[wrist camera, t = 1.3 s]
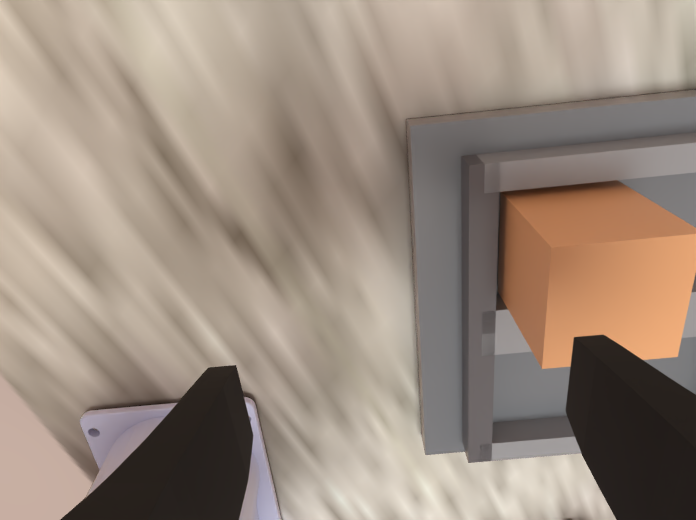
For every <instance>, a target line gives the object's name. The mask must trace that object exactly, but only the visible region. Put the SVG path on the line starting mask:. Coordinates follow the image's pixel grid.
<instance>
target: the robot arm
mask: <svg viewBox="0 0 696 520" xmlns="http://www.w3.org/2000/svg"><path fill="white" fill-rule="evenodd" d="M566 414H567V417H568V419H569V422H570V425H571V428H572V430H573V433H574V436H575V438H576V441H577V443H578V446H579V448H580V451H581V453H582V456H583V458H584V460H585V461H586V463H587V465H588V467H589V469H590V471H591V473H592V475H593V477H594V479H595V480H596V482H597V484H598V486H599V488H600V490H601V492H602V494H603V495H604V497H605V499H606V501H607V503H608V505H609V506H610V508H611V510H612V512H613V514H614V516H615V518H616V519H617V520H696V394H694V393H692V392H691V391H689V390H688V389H686V388H685V387H683V386H682V385H680V384H678V383H677V382H675V381H674V380H672V379H671V378H669V377H668V376H666V375H665V374H663V373H662V372H660V371H659V370H657V369H656V368H654V367H653V366H651V365H650V364H648V363H647V362H645V361H644V360H642V359H641V358H639V357H638V356H636V355H635V354H633V353H632V352H630V351H629V350H627V349H626V348H624V347H623V346H621V345H619V344H618V343H616V342H615V341H613V340H612V339H610V338H608V337H607V336H605V335H592V336H581V337H574V340H573V349H572V358H571V367H570V375H569V384H568V393H567V402H566ZM249 416H250V417H249ZM80 425H81V428H82V430H83V432H84V435H85V437H86V440H87V442H88V444H89V447H90V449H91V451H92V454H93V456H94V458H95V461H96V463H97V466H98V468H99V472H98V474H97V476H96V478H95V480H94V482H93V484H92V486H91V488H90V490H89V492H88V494H87V496H86V497H85V499H84V500H83V501H81V502H80V503H79V504H78V505H77V506H76V507H75V508H73V509H72V510H71V511H70V512H69V513H68V514H66V515H65V516H64V517H63V518H62V519H61V520H281V515H280V511H279V507H278V502H277V498H276V493H275V489H274V484H273V480H272V475H271V471H270V467H269V462H268V458H267V453H266V449H265V444H264V440H263V436H262V431H261V427H260V422H259V418H258V413H257V409H256V405H255V403H254V401H253V400H252V399H250V398H248V397H244V395H243V391H242V387H241V383H240V379H239V375H238V371H237V367H236V365H234V366H222V367H210V368H208V369H207V370H206V371H205V372H204V373H203V374H202V375H201V377H200V378H199V379H198V380H197V381H196V382H195V383H194V385H193V386H192V387H191V388H190V389H189V390H188V391H187V393H186V394H185V395H184V396H183V397H182V398H181V400H180V401H179V402H178V403H169V404H158V405H146V406H135V407H124V408H113V409H102V410H91V411H87V412H85V413H84V414H83V416H82V417H81V419H80ZM93 428H95V429H97V430H98V431H97V430H94V429H93Z"/></svg>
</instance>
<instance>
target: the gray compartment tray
mask: <svg viewBox="0 0 696 520" xmlns="http://www.w3.org/2000/svg"><path fill="white" fill-rule="evenodd" d="M406 127H407V147H408V167H409V188H410V208H411V228H412V249H413V269H414V289H415V309H416V330H417V350H418V370H419V391H420V411H421V431H422V440H423V445H424V450H425V455H431V454H443V453H454V452H465V453H466V456H467V460H468V463H472V462H484V461H496V460H507V459H519V458H531V457H543V456H555V455H566V454H578V453H581V451H580V448H579V446H578V443H577V441H576V438H575V436H574V433H573V430H572V428H571V425H570V422H569V419H568V417H567V414H566V402H567V393H568V384H569V375H570V367H571V366H570V367H559V368H548V369H542V368H541V366H540V365H539V363H538V361H537V359H536V358H535V356H534V354H533V352H532V351H531V349H530V347H529V345H528V344H527V342H526V340H525V338H524V337H523V335H522V333H521V331H520V329H519V328H518V326H517V324H516V322H515V321H514V319H513V317H512V315H511V314H510V312H509V310H508V308H507V307H506V305H505V303H504V301H503V300H502V298H501V296H500V294H499V293H498V261H499V227H500V194H501V192H503V191H513V190H523V189H533V188H543V187H554V186H564V185H574V184H584V183H594V182H604V181H614V180H618V181H619V182H621V183H623V184H624V185H626V186H628V187H629V188H631V189H633V190H634V191H636V192H637V193H639V194H641V195H642V196H644V197H646V198H647V199H649V200H651V201H652V202H654V203H656V204H657V205H659V206H661V207H662V208H664V209H666V210H667V211H669V212H670V213H672V214H674V215H675V216H677V217H679V218H680V219H682V220H684V221H685V222H687V223H689V224H690V225H692V226H694V227H695V228H696V89H694V90H684V91H675V92H665V93H655V94H646V95H636V96H626V97H617V98H607V99H597V100H588V101H578V102H568V103H559V104H549V105H539V106H530V107H520V108H510V109H501V110H491V111H481V112H472V113H462V114H452V115H443V116H433V117H423V118H414V119H406ZM644 361H645V362H647V363H648V364H650V365H651V366H653V367H654V368H656V369H657V370H659V371H660V372H662V373H663V374H665V375H666V376H668V377H669V378H671V379H672V380H674V381H675V382H677V383H678V384H680V385H682V386H683V387H685V388H686V389H688V390H689V391H691V392H692V393H694V394H696V274H695V278H694V283H693V288H692V292H691V297H690V302H689V306H688V311H687V315H686V320H685V325H684V329H683V334H682V339H681V343H680V348H679V353H678V357H671V358H660V359H649V360H644Z"/></svg>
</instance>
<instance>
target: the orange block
mask: <svg viewBox="0 0 696 520" xmlns="http://www.w3.org/2000/svg"><path fill="white" fill-rule="evenodd" d="M695 274H696V228H695V227H694V226H692V225H690V224H689V223H687V222H685V221H684V220H682V219H680V218H679V217H677V216H675V215H674V214H672V213H670V212H669V211H667V210H666V209H664V208H662V207H661V206H659V205H657V204H656V203H654V202H652V201H651V200H649V199H647V198H646V197H644V196H642V195H641V194H639V193H637V192H636V191H634V190H633V189H631V188H629V187H628V186H626V185H624V184H623V183H621V182H619V181H618V180H614V181H604V182H594V183H584V184H574V185H564V186H554V187H543V188H533V189H523V190H513V191H503V192H501V194H500V227H499V261H498V293H499V294H500V296H501V298H502V300H503V301H504V303H505V305H506V307H507V308H508V310H509V312H510V314H511V315H512V317H513V319H514V321H515V322H516V324H517V326H518V328H519V329H520V331H521V333H522V335H523V337H524V338H525V340H526V342H527V344H528V345H529V347H530V349H531V351H532V352H533V354H534V356H535V358H536V359H537V361H538V363H539V365H540V366H541V368H542V369H548V368H559V367H570V366H571V358H572V349H573V340H574V337H581V336H592V335H605V336H607V337H608V338H610V339H612V340H613V341H615V342H616V343H618V344H619V345H621V346H623V347H624V348H626V349H627V350H629V351H630V352H632V353H633V354H635V355H636V356H638V357H639V358H641V359H642V360H649V359H660V358H671V357H678V353H679V348H680V343H681V339H682V334H683V329H684V325H685V320H686V315H687V311H688V306H689V302H690V297H691V292H692V288H693V283H694V278H695Z"/></svg>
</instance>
